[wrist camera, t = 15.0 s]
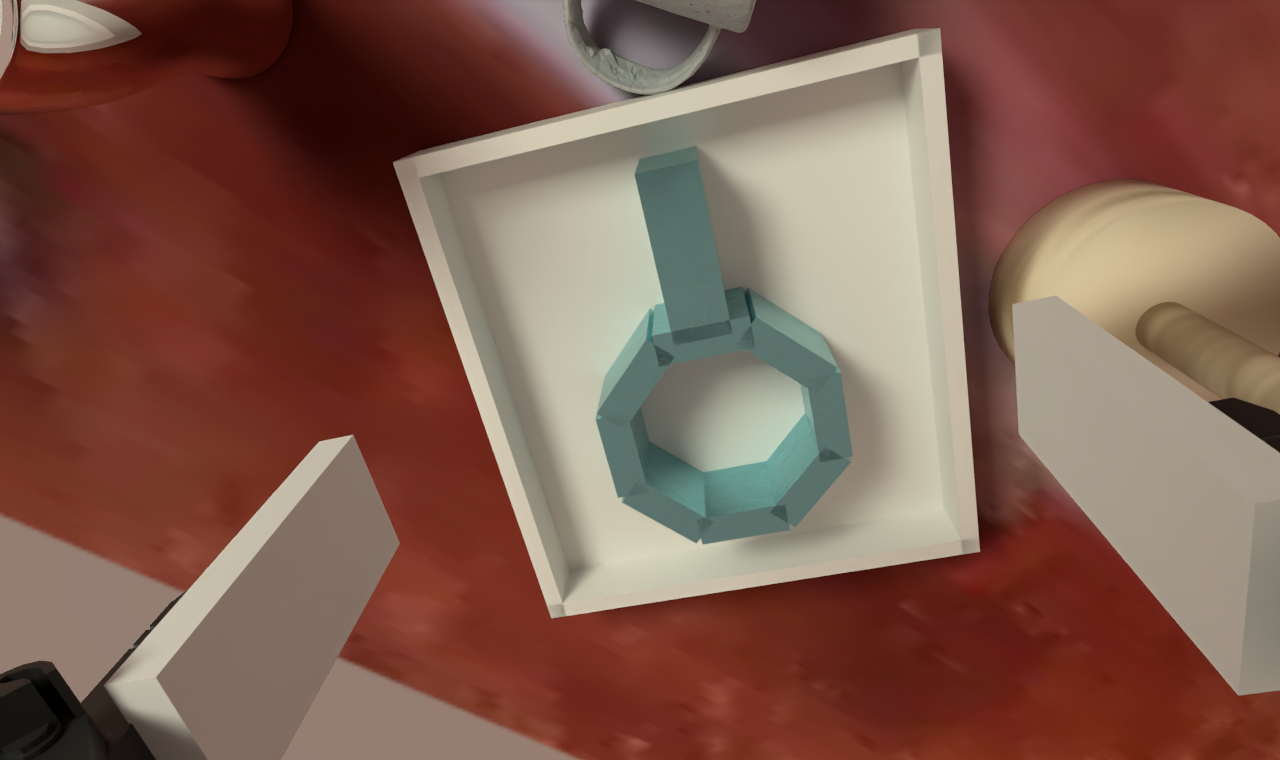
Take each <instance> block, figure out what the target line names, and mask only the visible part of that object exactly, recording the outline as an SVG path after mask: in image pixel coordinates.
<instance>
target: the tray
mask: <svg viewBox="0 0 1280 760" xmlns="http://www.w3.org/2000/svg"><path fill="white" fill-rule="evenodd" d="M693 146H696V149H697V154H698V159H699V164H700V169H701V174H702V180H703V185H704V190H705V195H706V200H707V205H708V210H709V215H710V220H711V225H712V230H713V235H714V240H715V245H716V250H717V255H718V260H719V265H720V270H721V275H722V280H723V285H724V290H728V289H733V288H738V287H743V291H744V293H745V292H746V291H747V289H748V288H750V289H751V290H753V291H755V292H756V293H758V294H759V295H761V296H763V297H764V298H766V299H767V300H769V301H771V302H772V303H774V304H775V305H777V306H779V307H780V308H782V309H783V310H785V311H786V312H788V313H790V314H791V315H793V316H794V317H796V318H798V319H799V320H801V321H802V322H804V323H806V324H807V325H809V326H810V327H812V328H813V329H815V330H817V331H818V332H820V333H821V334H822V336H823V338H825V341H826V343H827V345H828V347H829V349H830V351H831V353H832V355H833V357H834V360H835V362H836V364H837V366H838V368H839V370H840V372H841V378H842V385H843V392H844V399H845V405H846V412H847V419H848V426H849V433H850V440H851V447H852V454H853V457H849V458H850V461H851V463H850V464H849V465H848V467H847V468H846V469H845V470H844V471H843V472H842V474H841V475H840V476H839V477H838V478H837V479H836V481H835V482H834V483H833V484H832V485H831V486H830V488H829V489H828V490H827V491H826V492H825V493H824V495H823V496H822V497H821V498H820V499H819V500H818V502H817V503H816V504H815V505H814V506H813V507H812V509H811V510H810V511H809V512H808V513H807V514H806V516H805V517H804V518H803V519H802V520H801V521H800V523H799V524H798V525H797V526H796V527H794V526H792V525H791V524H789V528H790V530H788V531H782V532H776V533H770V534H764V535H758V536H752V537H746V538H740V539H734V540H728V541H722V542H716V543H710V544H702V540H701V539H700V540H699V541H698V542H697V544H696V543H694V542H693V541H691V540H689V539H687V538H685V537H684V536H682V535H680V534H678V533H676V532H674V531H673V530H671V529H669V528H667V527H665V526H664V525H662V524H660V523H658V522H656V521H655V520H653V519H651V518H649V517H647V516H645V515H644V514H642V513H640V512H638V511H636V510H635V509H633V508H631V507H629V506H627V505H626V504H624V503H622V497H620V498H618V496H617V493H616V489H615V486H614V482H613V479H612V475H611V472H610V468H609V465H608V461H607V458H606V454H605V451H604V447H603V444H602V440H601V437H600V433H599V430H598V426H597V423H596V415H597V414H596V413H597V409H598V404H599V400H600V395H601V391H602V387H603V382H604V378H605V375H606V374H607V372H608V371H609V369H610V368H611V366H612V365H613V363H614V362H615V360H616V359H617V357H618V356H619V354H620V353H621V351H622V349H623V348H624V346H625V345H626V343H627V342H628V340H629V339H630V337H631V336H632V334H633V333H634V331H635V330H636V328H637V327H638V325H639V324H640V322H641V321H642V319H643V318H644V316H645V315H646V313H647V312H648V310H649V309H652V310H653V311H654V309H655V305H657V304H661V303H664V299H663V295H662V291H661V286H660V282H659V278H658V274H657V269H656V265H655V261H654V256H653V252H652V248H651V243H650V239H649V235H648V231H647V226H646V222H645V218H644V213H643V209H642V205H641V200H640V196H639V192H638V188H637V183H636V179H635V175H634V174H635V171H636V168H637V165H638V162H639V159H642V158H646V157H650V156H654V155H659V154H663V153H667V152H671V151H676V150H680V149H684V148H688V147H693ZM393 165H394V168H395V171H396V173H397V176H398V179H399V182H400V185H401V188H402V191H403V194H404V196H405V199H406V202H407V205H408V208H409V211H410V214H411V216H412V219H413V222H414V225H415V228H416V231H417V234H418V237H419V239H420V242H421V245H422V248H423V251H424V254H425V257H426V260H427V262H428V265H429V268H430V271H431V274H432V277H433V280H434V282H435V285H436V288H437V291H438V294H439V297H440V300H441V303H442V305H443V308H444V311H445V314H446V317H447V320H448V323H449V326H450V328H451V331H452V334H453V337H454V340H455V343H456V346H457V348H458V351H459V354H460V357H461V360H462V363H463V366H464V369H465V371H466V374H467V377H468V380H469V383H470V386H471V389H472V392H473V394H474V397H475V400H476V403H477V406H478V409H479V412H480V414H481V417H482V420H483V423H484V426H485V429H486V432H487V435H488V437H489V440H490V443H491V446H492V449H493V452H494V455H495V458H496V460H497V463H498V466H499V469H500V472H501V475H502V478H503V480H504V483H505V486H506V489H507V492H508V495H509V498H510V501H511V503H512V506H513V509H514V512H515V515H516V518H517V521H518V523H519V526H520V529H521V532H522V535H523V538H524V541H525V544H526V546H527V549H528V552H529V555H530V558H531V561H532V564H533V567H534V569H535V572H536V575H537V578H538V581H539V584H540V587H541V589H542V592H543V595H544V598H545V601H546V604H547V607H548V610H549V612H550V615H551V618H557V617H563V616H570V615H576V614H583V613H589V612H595V611H602V610H608V609H615V608H621V607H628V606H634V605H640V604H647V603H653V602H660V601H666V600H673V599H679V598H685V597H692V596H698V595H705V594H711V593H718V592H724V591H730V590H737V589H743V588H750V587H756V586H763V585H769V584H776V583H782V582H788V581H795V580H801V579H808V578H814V577H821V576H827V575H833V574H840V573H846V572H853V571H859V570H866V569H872V568H878V567H885V566H891V565H898V564H904V563H911V562H917V561H923V560H930V559H936V558H943V557H949V556H956V555H962V554H968V553H975V552H980V546H979V532H978V519H977V506H976V493H975V480H974V467H973V454H972V440H971V427H970V414H969V401H968V388H967V375H966V362H965V349H964V335H963V322H962V309H961V296H960V283H959V270H958V257H957V243H956V230H955V217H954V204H953V191H952V178H951V165H950V151H949V138H948V125H947V112H946V99H945V86H944V73H943V60H942V46H941V33H940V28H930V29H912V30H908V31H904V32H899V33H895V34H891V35H887V36H883V37H879V38H875V39H871V40H867V41H863V42H859V43H855V44H851V45H847V46H843V47H839V48H834V49H830V50H826V51H822V52H818V53H814V54H810V55H806V56H802V57H798V58H794V59H790V60H786V61H782V62H778V63H774V64H769V65H765V66H761V67H757V68H753V69H749V70H745V71H741V72H737V73H733V74H729V75H725V76H721V77H717V78H713V79H709V80H704V81H700V82H696V83H692V84H688V85H684V86H680V87H676V88H673V89H671V90H669V91H666V92H663V93H660V94H654V95H644V96H639V97H635V98H631V99H627V100H623V101H619V102H615V103H611V104H607V105H603V106H599V107H595V108H591V109H587V110H583V111H579V112H574V113H570V114H566V115H562V116H558V117H554V118H550V119H546V120H542V121H538V122H534V123H530V124H526V125H522V126H518V127H513V128H509V129H505V130H501V131H497V132H493V133H489V134H485V135H481V136H477V137H473V138H469V139H465V140H461V141H457V142H453V143H448V144H444V145H440V146H436V147H432V148H428V149H424V150H420V151H418V152H415V153H413V154H411V155H408V156H406V157H404V158H402V159H399V160H397V161H395V162H393ZM641 410H642V414H643V418H644V422H645V425H646V429H647V433H648V437H649V441H650V442H651V443H653V444H655V445H657V446H658V447H660V448H662V449H664V450H665V451H667V452H669V453H671V454H672V455H674V456H676V457H678V458H679V459H681V460H683V461H685V462H686V463H688V464H690V465H692V466H693V467H695V468H697V469H699V470H700V471H702V472H708V471H713V470H719V469H725V468H730V467H736V466H742V465H747V464H753V463H758V462H764V461H767V460H768V459H769V457H770V456H771V455H772V454H773V452H774V451H775V450H776V449H777V447H778V446H779V445H780V444H781V442H782V441H783V440H784V439H785V437H786V436H787V435H788V434H789V432H790V431H791V430H792V429H793V427H794V426H795V425H796V424H797V422H798V421H799V420H800V419H801V417H802V416H803V415H804V414H805V409H804V403H803V397H802V391H801V385H800V383H798V382H797V381H795V380H793V379H792V378H790V377H789V376H787V375H785V374H784V373H782V372H780V371H779V370H777V369H775V368H774V367H772V366H771V365H769V364H767V363H766V362H764V361H762V360H761V359H759V358H757V357H756V356H754V355H753V354H751V353H749V352H748V351H746V350H742V351H737V352H732V353H727V354H722V355H717V356H712V357H707V358H702V359H697V360H692V361H687V362H682V363H677V364H672V365H669V366H668V368H667V369H666V371H665V372H664V373H663V375H662V376H661V378H660V379H659V381H658V382H657V384H656V385H655V386H654V388H653V389H652V391H651V392H650V394H649V395H648V396H647V398H646V399H645V401H644V402H643V404H642V405H641Z"/></svg>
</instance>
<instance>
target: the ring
mask: <svg viewBox="0 0 1280 760" xmlns="http://www.w3.org/2000/svg"><path fill="white" fill-rule="evenodd" d="M634 175H635V179H636V183H637V188H638V192H639V196H640V200H641V205H642V209H643V213H644V218H645V222H646V226H647V231H648V235H649V239H650V243H651V248H652V252H653V256H654V261H655V265H656V269H657V274H658V278H659V282H660V286H661V291H662V295H663V299H664V303H661V304H657V305H655V309H654V311H653V310H652V309H649V310H648V312H647V313H646V315H645V316H644V318H643V319H642V321H641V322H640V324H639V325H638V327H637V328H636V330H635V331H634V333H633V334H632V336H631V337H630V339H629V340H628V342H627V343H626V345H625V346H624V348H623V349H622V351H621V353H620V354H619V356H618V357H617V359H616V360H615V362H614V363H613V365H612V366H611V368H610V369H609V371H608V372H607V374H606V375H605V378H604V382H603V387H602V391H601V395H600V400H599V404H598V409H597V413H596V414H597V415H596V423H597V426H598V430H599V433H600V437H601V440H602V444H603V447H604V451H605V454H606V458H607V461H608V465H609V468H610V472H611V475H612V479H613V482H614V486H615V489H616V493H617V496H618V498H620V497H622V503H624V504H626V505H627V506H629V507H631V508H633V509H635V510H636V511H638V512H640V513H642V514H644V515H645V516H647V517H649V518H651V519H653V520H655V521H656V522H658V523H660V524H662V525H664V526H665V527H667V528H669V529H671V530H673V531H674V532H676V533H678V534H680V535H682V536H684V537H685V538H687V539H689V540H691V541H693V542H694V543H696V544H697V542H698V541H699V540H700V539H701V540H702V544H710V543H716V542H722V541H728V540H734V539H740V538H746V537H752V536H758V535H764V534H770V533H776V532H782V531H788V530H790V528H789V524H791V525H792V526H794V527H796V526H797V525H798V524H799V523H800V521H801V520H802V519H803V518H804V517H805V516H806V514H807V513H808V512H809V511H810V510H811V509H812V507H813V506H814V505H815V504H816V503H817V502H818V500H819V499H820V498H821V497H822V496H823V495H824V493H825V492H826V491H827V490H828V489H829V488H830V486H831V485H832V484H833V483H834V482H835V481H836V479H837V478H838V477H839V476H840V475H841V474H842V472H843V471H844V470H845V469H846V468H847V467H848V465H849V464H850V463H851V461H850V458H849V457H853V454H852V447H851V440H850V433H849V426H848V419H847V412H846V405H845V399H844V392H843V385H842V378H841V372H840V370H839V368H838V366H837V364H836V362H835V360H834V357H833V355H832V353H831V351H830V349H829V347H828V345H827V343H826V341H825V338H823V336H822V334H821V333H820V332H818V331H817V330H815V329H813V328H812V327H810V326H809V325H807V324H806V323H804V322H802V321H801V320H799V319H798V318H796V317H794V316H793V315H791V314H790V313H788V312H786V311H785V310H783V309H782V308H780V307H779V306H777V305H775V304H774V303H772V302H771V301H769V300H767V299H766V298H764V297H763V296H761V295H759V294H758V293H756V292H755V291H753V290H751V289H750V288H748V289H747V291H746V292H745V293H744V291H743V287H738V288H733V289H728V290H724V285H723V280H722V275H721V270H720V265H719V260H718V255H717V250H716V245H715V240H714V235H713V230H712V225H711V220H710V215H709V210H708V205H707V200H706V195H705V190H704V185H703V180H702V174H701V169H700V164H699V159H698V154H697V149H696V146H693V147H688V148H684V149H680V150H676V151H671V152H667V153H663V154H659V155H654V156H650V157H646V158H642V159H639V162H638V165H637V168H636V171H635V174H634ZM742 350H746V351H748V352H749V353H751V354H753V355H754V356H756V357H757V358H759V359H761V360H762V361H764V362H766V363H767V364H769V365H771V366H772V367H774V368H775V369H777V370H779V371H780V372H782V373H784V374H785V375H787V376H789V377H790V378H792V379H793V380H795V381H797V382H798V383H800V385H801V391H802V397H803V403H804V409H805V414H804V415H803V416H802V417H801V419H800V420H799V421H798V422H797V424H796V425H795V426H794V427H793V429H792V430H791V431H790V432H789V434H788V435H787V436H786V437H785V439H784V440H783V441H782V442H781V444H780V445H779V446H778V447H777V449H776V450H775V451H774V452H773V454H772V455H771V456H770V457H769V459H768V460H767V461H764V462H758V463H753V464H747V465H742V466H736V467H730V468H725V469H719V470H713V471H708V472H702V471H700V470H699V469H697V468H695V467H693V466H692V465H690V464H688V463H686V462H685V461H683V460H681V459H679V458H678V457H676V456H674V455H672V454H671V453H669V452H667V451H665V450H664V449H662V448H660V447H658V446H657V445H655V444H653V443H651V442H650V441H649V437H648V433H647V429H646V425H645V422H644V418H643V414H642V410H641V405H642V404H643V402H644V401H645V399H646V398H647V396H648V395H649V394H650V392H651V391H652V389H653V388H654V386H655V385H656V384H657V382H658V381H659V379H660V378H661V376H662V375H663V373H664V372H665V371H666V369H667V368H668V366H669V365H672V364H677V363H682V362H687V361H692V360H697V359H702V358H707V357H712V356H717V355H722V354H727V353H732V352H737V351H742Z"/></svg>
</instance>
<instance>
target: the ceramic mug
mask: <svg viewBox="0 0 1280 760" xmlns="http://www.w3.org/2000/svg"><path fill="white" fill-rule="evenodd" d="M635 1H639V2H642V3H645V4H648V5H651V6H654V7H657V8H660V9H662V10H665V11H668V12H671V13H674V14H678V15H681V16H684V17H688V18H691V19H695V20H698V21H701V22H704V23H707V24H709V28H708V30H707V32H706V33H705V35H704V37H703V39H702V41H701V42H700V44H699V45H698V47H697V48H696V49H695V50H694V52H693V53H692V54H691V55H690V56H689V57H688V58H687V59H686V60H685V61H683V62H682V63H681V64H680V65H678V66H676V67H674V68H672V69H667V70H664V69H659V70H654V69H651V68H647V67H645V66H642V65H639V64H637V63H634V62H631V61H628V60H625V59H623V58H621V57H619V56H617V55H616V54H615V53H614V52H613V51H612V50H611V49H606V48H603V49H600V48H599V47H598V46H597V45H596V44H595V42H594V41H593V40H592V38H591V36H590V34H589V32H588V30H587V28H586V26H585V24H584V20H583V10H582V7H581V0H564V1H563V7H564V22H565V26H566V30H567V34H568V38H569V41H570V44H571V46H572V48H573V50H574V51H575V53H576V54H577V56H578V57H579V59H580V61H581V62H582V63H583V64H584V65H585V66H586V67H587V69H588V70H589V71H590V72H591V73H592V74H594V75H595V76H597V77H598V78H599V79H601V80H602V81H604V82H606V83H607V84H609V85H611V86H613V87H616V88H619V89H621V90H625V91H628V92H631V93H636V94H643V95H654V94H660V93H663V92H666V91H669V90H671V89H673V88H675V87H677V86H678V85H680V84H681V83H683V82H684V81H686V80H687V79H688V78H689V77H691V76H692V75H693V74H694V73H695V72H696V71H697V70H698V69H699V67H700V66H701V65H702V64H703V62H704V61H705V59H706V58H707V57H708V55H709V53H710V51H711V49H712V47H713V46H714V44H715V42H716V40H717V37H718V35H719V33H720V30H721V28H724V29H727V30H730V31H733V32H737V33H742V32H744V31H745V30H746V29H747V27H748V24H749V22H750V19H751V15H752V12H753V10H754V7H755V3H756V0H635Z"/></svg>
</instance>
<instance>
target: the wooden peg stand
mask: <svg viewBox="0 0 1280 760" xmlns="http://www.w3.org/2000/svg"><path fill="white" fill-rule="evenodd" d="M1051 296H1057V297H1059V298H1060V299H1061V300H1063V301H1064V302H1066V303H1067V304H1069V305H1070V306H1071V307H1073V308H1074V309H1076V310H1077V311H1079V312H1080V313H1081V314H1083V315H1084V316H1086V317H1087V318H1089V319H1090V320H1091V321H1093V322H1094V323H1096V324H1097V325H1098V326H1100V327H1101V328H1103V329H1104V330H1106V331H1107V332H1108V333H1110V334H1111V335H1113V336H1114V337H1116V338H1117V339H1118V340H1120V341H1121V342H1123V343H1124V344H1126V345H1127V346H1128V347H1130V348H1131V349H1133V350H1134V351H1136V352H1137V353H1138V354H1140V355H1141V356H1143V357H1144V358H1145V359H1147V360H1148V361H1150V362H1151V363H1153V364H1154V365H1155V366H1157V367H1158V368H1160V369H1161V370H1163V371H1164V372H1165V373H1167V374H1168V375H1170V376H1171V377H1173V378H1174V379H1175V380H1177V381H1178V382H1180V383H1181V384H1183V385H1184V386H1185V387H1187V388H1188V389H1190V390H1191V391H1192V392H1194V393H1195V394H1197V395H1198V396H1200V397H1201V398H1202V399H1204V400H1205V401H1207V402H1210V401H1216V400H1222V399H1228V398H1233V397H1234V398H1237V399H1240V400H1243V401H1246V402H1249V403H1252V404H1255V405H1258V406H1261V407H1264V408H1268V409H1271V410H1274V411H1275V412H1277V413H1278V414H1280V357H1278V354H1279V352H1280V238H1279V236H1278V235H1277V234H1276V233H1275V232H1274V231H1273V230H1272V229H1271V228H1270V227H1269V226H1268V225H1267V224H1265V223H1264V222H1263V221H1261V220H1260V219H1258V218H1256V217H1255V216H1253V215H1252V214H1250V213H1247V212H1245V211H1242V210H1240V209H1238V208H1235V207H1232V206H1229V205H1225V204H1222V203H1219V202H1216V201H1212V200H1209V199H1206V198H1203V197H1199V196H1196V195H1193V194H1190V193H1186V192H1183V191H1180V190H1177V189H1173V188H1170V187H1167V186H1164V185H1160V184H1157V183H1153V182H1149V181H1144V180H1135V179H1114V180H1108V181H1101V182H1097V183H1093V184H1089V185H1086V186H1083V187H1080V188H1078V189H1075V190H1073V191H1070V192H1068V193H1066V194H1064V195H1062V196H1061V197H1059V198H1057V199H1055V200H1053V201H1052V202H1050V203H1049V204H1047V205H1046V206H1045V207H1043V208H1042V209H1040V210H1039V211H1038V212H1037V213H1036V214H1034V215H1033V216H1032V217H1031V218H1030V219H1029V220H1028V221H1027V222H1026V223H1025V224H1024V225H1023V226H1022V227H1021V228H1020V229H1019V230H1018V231H1017V233H1016V234H1015V235H1014V237H1013V238H1012V239H1011V241H1010V242H1009V243H1008V245H1007V247H1006V248H1005V250H1004V252H1003V253H1002V255H1001V257H1000V259H999V262H998V264H997V266H996V268H995V271H994V274H993V278H992V281H991V286H990V292H989V316H990V323H991V327H992V330H993V333H994V336H995V338H996V340H997V342H998V344H999V346H1000V348H1001V349H1002V350H1003V352H1004V353H1005V355H1006V356H1007V357H1008V358H1009V359H1010V360H1011V361H1012V362H1013V363H1014V364H1015V350H1014V330H1013V310H1012V304H1016V303H1021V302H1026V301H1031V300H1036V299H1041V298H1046V297H1051Z"/></svg>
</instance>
